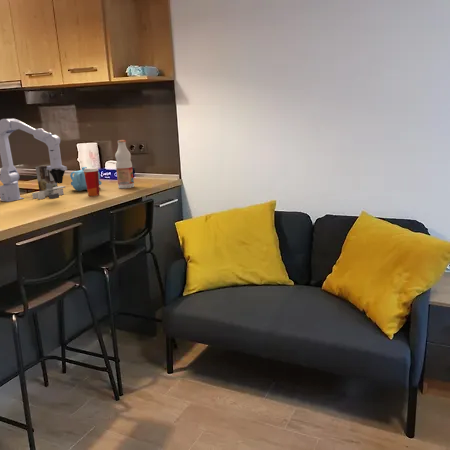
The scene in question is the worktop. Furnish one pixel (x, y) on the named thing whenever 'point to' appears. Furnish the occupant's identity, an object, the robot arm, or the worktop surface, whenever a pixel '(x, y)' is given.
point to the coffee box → (44, 177)
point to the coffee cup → (92, 181)
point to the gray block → (54, 195)
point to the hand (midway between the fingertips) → (58, 183)
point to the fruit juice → (124, 166)
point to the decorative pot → (80, 180)
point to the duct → (46, 193)
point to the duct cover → (50, 187)
